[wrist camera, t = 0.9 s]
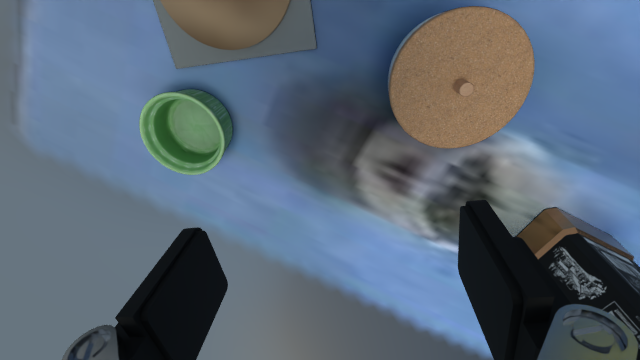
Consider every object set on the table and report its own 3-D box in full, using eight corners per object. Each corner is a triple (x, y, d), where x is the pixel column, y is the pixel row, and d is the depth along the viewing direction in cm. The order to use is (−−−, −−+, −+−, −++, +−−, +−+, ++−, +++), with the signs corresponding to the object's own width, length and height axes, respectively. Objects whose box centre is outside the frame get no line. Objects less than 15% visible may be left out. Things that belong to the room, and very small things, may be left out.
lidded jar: (363, 45, 30) (368, 57, 22) (475, -18, 27) (529, -31, 19) (404, 137, 34) (421, 176, 26) (506, 92, 31) (561, 120, 23)
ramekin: (235, 86, 34) (220, 96, 30) (240, 162, 38) (227, 179, 34) (154, 80, 34) (129, 89, 30) (168, 155, 38) (148, 171, 34)
